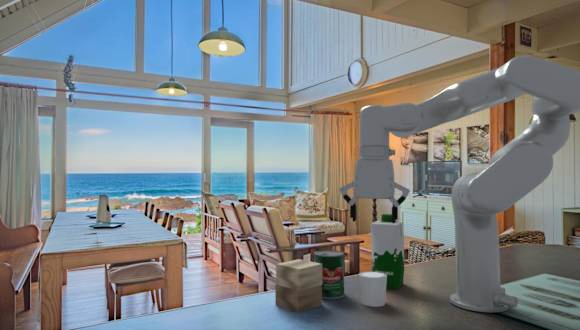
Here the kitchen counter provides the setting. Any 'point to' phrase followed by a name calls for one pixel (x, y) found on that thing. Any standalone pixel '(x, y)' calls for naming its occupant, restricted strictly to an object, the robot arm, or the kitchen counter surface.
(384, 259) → the milk carton
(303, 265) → the block upper
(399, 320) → the kitchen counter surface
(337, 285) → the canned tomato
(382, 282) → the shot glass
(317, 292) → the block lower
